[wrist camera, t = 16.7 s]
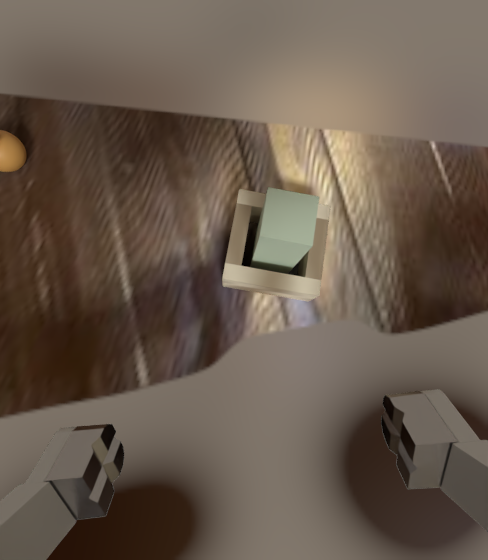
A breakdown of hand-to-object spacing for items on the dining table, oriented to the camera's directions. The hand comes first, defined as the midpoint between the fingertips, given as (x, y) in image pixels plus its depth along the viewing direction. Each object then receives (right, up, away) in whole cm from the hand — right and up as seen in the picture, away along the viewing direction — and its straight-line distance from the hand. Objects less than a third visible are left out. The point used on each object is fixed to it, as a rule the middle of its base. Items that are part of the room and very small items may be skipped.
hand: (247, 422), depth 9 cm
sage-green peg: (+3, +7, +24) cm, 25 cm away
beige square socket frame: (+3, +7, +24) cm, 25 cm away
